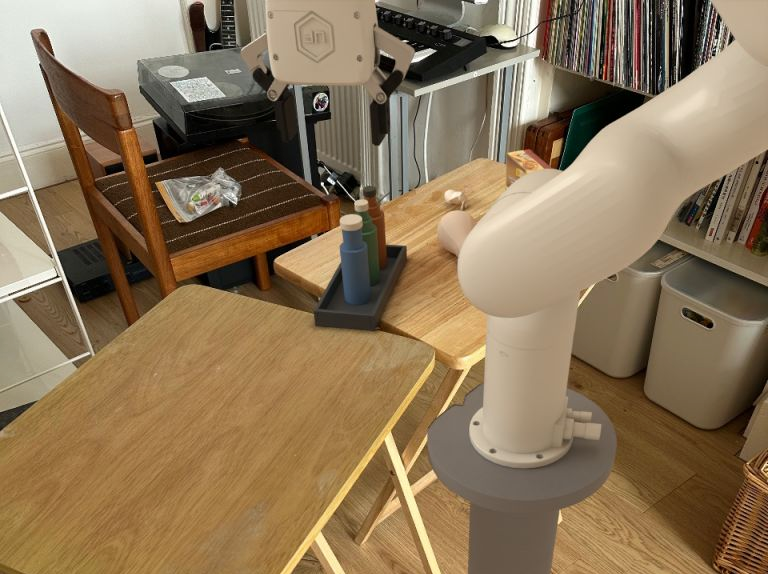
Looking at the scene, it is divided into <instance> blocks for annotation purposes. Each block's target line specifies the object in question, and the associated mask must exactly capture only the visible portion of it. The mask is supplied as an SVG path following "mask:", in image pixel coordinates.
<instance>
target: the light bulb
mask: <svg viewBox="0 0 768 574" xmlns="http://www.w3.org/2000/svg"><path fill="white" fill-rule="evenodd" d="M476 224H477V222H476V221H475V218H473V216H472V215H471V214H470V213H468V212H467V211H464V210H460V209H457V210H451V211H449V212H447V213H446V214H444V215H443V216H442V217H441V219H440V220H439V222H438V225H437V228H436V236H437V240H438V242H439V244H440V245H441V247H442V248H443V249H445V250H446V251H447V252H449V253H452V254H454V255H455V256H456V258H458V257H459V253H460V250H461V247H462V245H463V243H464V241H465V239H466V238H467V236H468V235H469V233H470V232H471V231H472V229H473V228H474V227H475V226H476Z"/></svg>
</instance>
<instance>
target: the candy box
mask: <svg viewBox="0 0 768 574" xmlns="http://www.w3.org/2000/svg"><path fill="white" fill-rule="evenodd" d="M540 169H554V168H553V167H551V165H549V164H548V163H547V162H545V160H543V159H541V158H540V157H539V156H538V155H537V154H536V153H535V152H533V150H531V149H521V150H516V151H510V152H507V153H506V163H505V179H504V191H505V190H506V189H507V188H508V187H509V186H510V185H511V184H512V183H514V182H515V181H516V180H518V179H519V178H521V177H522V176H524V175H526V174H528V173H530V172H533V171H536V170H540Z"/></svg>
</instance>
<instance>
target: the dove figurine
mask: <svg viewBox="0 0 768 574" xmlns="http://www.w3.org/2000/svg"><path fill="white" fill-rule="evenodd" d="M469 188H470V186H467V187H465V188H464V189H463V190H462V191H456V190H454V189H448V190H446V191H445V192H444V195H443V196H444V200H445V201H444V202H443V204H445V203H448V204H449V205H459V204H461V206H460V209H459V210H460V211H464V208H465V209H466V208H468V206H469V200H470V197H467V195H466V192H467V191H468V189H469ZM465 200H466V201H465ZM464 204H465V206H464Z"/></svg>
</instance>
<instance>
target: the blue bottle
mask: <svg viewBox="0 0 768 574" xmlns="http://www.w3.org/2000/svg"><path fill="white" fill-rule="evenodd" d="M362 226H363V223H362V217H361V216H359V215H356V213H354V214H353V213H350V214H345V215H342V216H341V217H340V218H339V227H340V229H341V235H342V243H341V244H339V255H340V263H341V266H342V276H343V286H344V296H345V301H346V302H347V303H349V304H352V305H361V304H364V303H367V302H368V301H369V300H370V299H371V291H370V278H369V265H368V252H367V244H366V242H364V241H362V228H361V227H362Z"/></svg>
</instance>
